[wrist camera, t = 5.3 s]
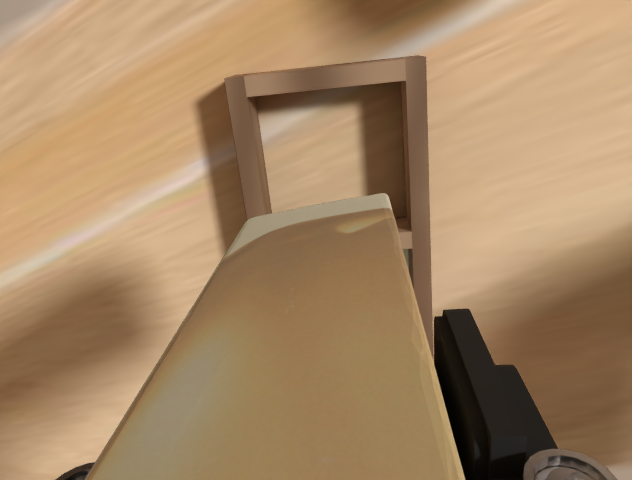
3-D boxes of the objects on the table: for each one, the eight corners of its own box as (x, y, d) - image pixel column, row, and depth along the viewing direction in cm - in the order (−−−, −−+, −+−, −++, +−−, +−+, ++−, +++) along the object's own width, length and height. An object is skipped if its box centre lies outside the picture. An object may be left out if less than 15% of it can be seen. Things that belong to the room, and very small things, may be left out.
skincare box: (423, 369, 16) (612, 1163, 5) (291, 390, 17) (176, 1142, 5) (387, 177, 14) (586, 795, 3) (236, 208, 14) (-163, 832, 3)
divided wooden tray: (418, 55, 27) (426, 56, 25) (427, 357, 34) (433, 380, 31) (234, 75, 28) (224, 78, 25) (279, 366, 35) (274, 389, 32)
